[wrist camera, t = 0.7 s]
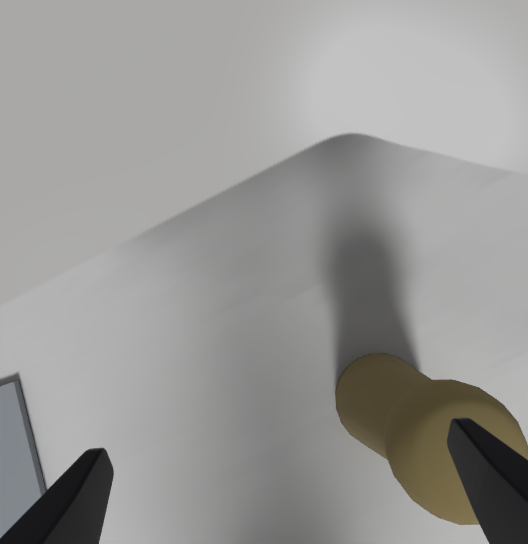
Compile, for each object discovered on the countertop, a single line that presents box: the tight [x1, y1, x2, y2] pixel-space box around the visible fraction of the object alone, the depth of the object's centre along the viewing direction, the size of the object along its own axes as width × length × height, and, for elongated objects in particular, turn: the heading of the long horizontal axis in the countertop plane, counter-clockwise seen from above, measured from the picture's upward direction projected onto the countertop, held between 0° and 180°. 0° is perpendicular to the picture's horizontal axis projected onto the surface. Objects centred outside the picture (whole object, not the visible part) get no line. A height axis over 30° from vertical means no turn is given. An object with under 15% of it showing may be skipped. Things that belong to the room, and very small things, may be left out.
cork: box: [335, 354, 528, 525], centre depth 18 cm, size 6×6×11 cm
